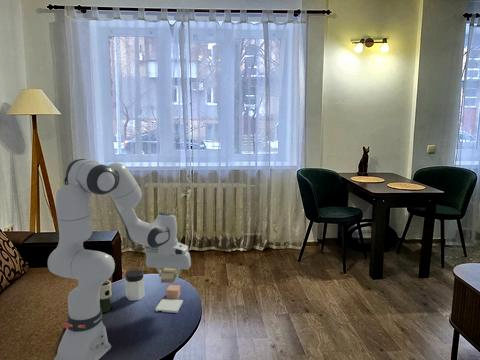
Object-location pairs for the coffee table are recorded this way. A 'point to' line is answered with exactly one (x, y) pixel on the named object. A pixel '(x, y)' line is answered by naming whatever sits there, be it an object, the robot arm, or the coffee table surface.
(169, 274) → the maple block
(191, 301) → the coffee table surface
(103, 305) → the character mug
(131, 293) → the jar
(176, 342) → the coffee table surface
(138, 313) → the coffee table surface
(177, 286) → the terracotta block
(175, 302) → the base plate
